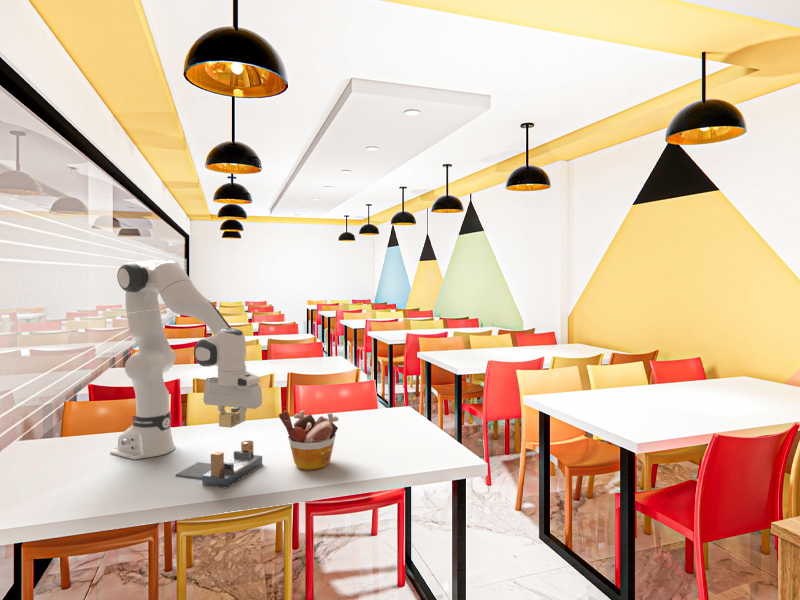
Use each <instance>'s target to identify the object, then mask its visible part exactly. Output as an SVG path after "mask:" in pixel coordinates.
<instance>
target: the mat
mask: <svg viewBox="0 0 800 600" xmlns="http://www.w3.org/2000/svg"><path fill="white" fill-rule="evenodd" d="M209 471H211V462H209V463H207V462H198V461H197V462H196V463H194V464H192V465H190V466H188V467H186V468H185V469H183V470H181V471H178V472H177V473H175V477H180V478H187V479H188V478H189V479H196V480H202V475H204V474H205V473H207V472H209Z"/></svg>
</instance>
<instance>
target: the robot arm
mask: <svg viewBox="0 0 800 600" xmlns="http://www.w3.org/2000/svg"><path fill="white" fill-rule="evenodd" d="M117 282H118V285H119V286H120V288H121V289H122V290H124V292H125V310H126V317H127V325H128V329H129V335H130V336H131V338H133V339H134V341H135V343H136V344H137V347H138V351H136V352H134V353H133V354H131V356H130V357H128V359H127V360H126V361H125V363H124V371H125V374H126V376H127V377H128V378H129V379H130V380H131V383H132V386H133V390H134V393H135V407H136V408H135V410H136V414H135V415H134V416H131V417H130V421H132V425H131V426H128V428H127V429H126V430H124V431H123V432H122V433H121V434H119V436H118V439H117V446H115V447H113V448H111V450H110V455H115V456H117V457H118V456H119V457H123V458H127V459H131V460H140V459H145V458H146V459H147V458H152V457H158V456H162V455H166V454H169V453H170V452H173V451H174V450H175V449H176V446H175V444H174V439H173V434H172V427H171V423H172V414H171V411H170V391H169V389H168V388H167V387H166V383H165V381H164V376H163V375H164V373H167V372H168V371H169V370H170V369H171V368H172V367H173V366H174V365H175V363H176V358H177V356H176V353H175V351H174V349H173V348H172V347H171V346H170V342H169V341H168V337H167V335H166V333H165V329H164V326H163V320H162V313H161V308H160V303H159V298H158V297H159V296H160V297H161V299H162V301H163V302H164V304H165V306H166V307H167V308H168V309H169V310H170V311H172V312H173V313H174V314H178V315H181V316H185V317H190V318H194V319H198V320H200V321H201V322H203V323H204V324H205V325H206V326H207V327H208V328H209V330H210V331H211V333H212V334H213V335H210V336H208V337H205V338H202V339H199V340H198V341H197V342H196V344H195V345H194V349H193V356H194V360H195V361H196V363H197V364H198V365H199V366H201V367H208V368H209V367H214V366H216V367H217V376H208V377H207V378H205V380H204V389H203V390H204V391H203V399H202V400H203V403H204V405H207V406H217V409H218V411H219V414H221V413H223V412H225V411H226V409H225V408H226V407H229V408H234V407H239V408H240V411H241V412H240V414H239V415H237V421H242V420H244V414H245V415H246V413H247V410H248V409H252V410H255V409H258V408H260V407H261V406H262V405H263V393H262V387H261V385H260V384H259V383H260V382H261V377H260V376H258V375H257V374H253V373H251V372H249V371H247V365H246V357H247V345H246V344H247V343H246V337H245V334H244V331H242V330H240V329H238V328H235V327H233V328H232V327H231V326H230V324H229V323H228V321H227V320H226V319H225V318H224V316H223V315H222V314H221V312H220V311H219V310H218V309H217V307H216V306H215V305H214V304H213V302H212V301H210V300H209V299H208V298H206V297H205V295H203V294H202V293H201V292H200V291H199V290H198V289H197V288H196V286H195V285H194V283H193V282H192V280H191V278H190V276H189V275H188V273H186V271H185V270H184V269H183V267H181V265H180V264H179V263H178V262H177V261H174V260H169V259H164V260H163V259H161V260H159V259H150V260H149V259H148V260H143V261H137V262H134V261H130V262H127V263H124V264H122V265H121V266H120V267H119V269H118V271H117Z"/></svg>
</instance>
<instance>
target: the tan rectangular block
mask: <svg viewBox="0 0 800 600" xmlns="http://www.w3.org/2000/svg"><path fill="white" fill-rule="evenodd" d="M230 408H231V409H228V410H225V412H223V413H219V414H218V427H222V428H231V429H232V428H234V427H235V426H237V425H240V424H242V423H244V422H246V413H245V414H244V420H242V421H237V415H239V414H240V412H241V411H240V408H239V407H230Z"/></svg>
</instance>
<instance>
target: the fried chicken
mask: <svg viewBox="0 0 800 600" xmlns="http://www.w3.org/2000/svg"><path fill="white" fill-rule="evenodd" d="M305 413H306V411H305V409H304V410H300V412H299V413H295V414H294V415H293V418H294V419H298V420H296V421H295V422H294V424H292V420H291V419H292V418H291V416H290V413H289V412H288V410H284V411H283V412H280V413H279V414H278V417H279V419H280V421H281V422H282V424H283V425H284V427H285V428H286V431H287V434H288V436H287V439H288V442H289V445H290V450H291V455H292V458H293V463H294V464H295V466H296V467H297V468H298V469H299V470H302V469H303V471H308V470H309V471H318V470H320V469H321V470H322V469H324V468H325V467H326V466H327V465H328V464H329V463H330V462H331V458H332V453H333V449H334V444H335V439H336V436H337V434H336V433H337V431H338V429H339V427H338V426H337V425H336V424H335V423H334V422H339V417H338V416H337V415H336V416H334V415H333V413H332V412H328V413H327V417H328V418H327V417H324V416H322V415H321V416H319V417H318V418H317V419H315V418H314V417H313V415H312V414H311V413H309V414H306V415H305ZM293 426H294V427H293Z"/></svg>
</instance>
